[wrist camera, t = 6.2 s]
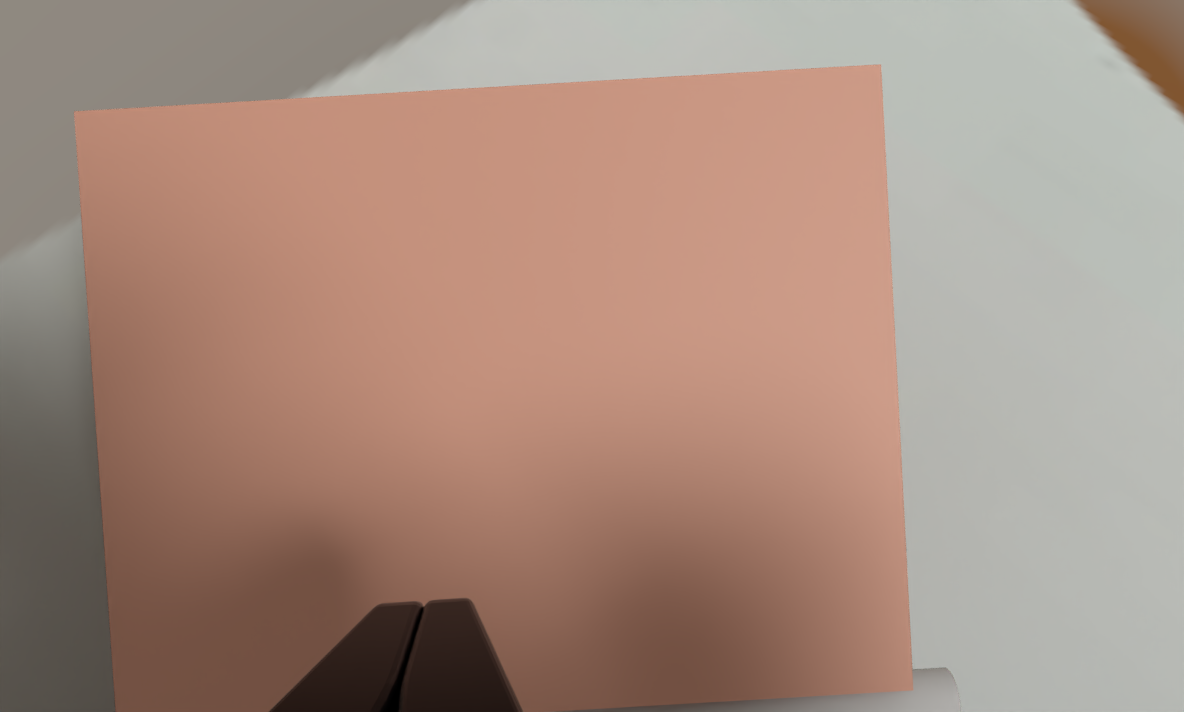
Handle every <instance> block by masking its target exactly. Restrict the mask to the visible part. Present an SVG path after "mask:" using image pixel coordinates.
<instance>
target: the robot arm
mask: <svg viewBox="0 0 1184 712" xmlns="http://www.w3.org/2000/svg"><path fill="white" fill-rule="evenodd" d="M269 712H523V710H522V708H521V706H520V703H519V701H518V699H517V697H516V695H515V692H514V690H513V688H512V686H511V684H510V682H509V679H508V677H507V675H506V673H505V671H504V668H503V666H502V664H501V662H500V660H499V658H498V655H497V653H496V651H495V649H494V647H493V644H492V642H491V640H490V638H489V636H488V634H487V631H486V629H485V627H484V625H483V623H482V620H481V618H480V616H479V614H478V612H477V609H476V607H475V605H474V603H473V602H472V601H471V600H470V599H469V598H452V599H437V600H431V601H429V602H427V603H426V604H425V606H424V605H423V604H422V603H421V602H419V601H408V602H392V603H381V604H378V605H377V606H375V607H374V608H373V609H371V610H370V611H369V612H368V613H367V614H366V615H365V616H364V617H363V618H362V619H361V620H360V621H359V622H358V623H357V624H356V625H355V626H354V627H353V628H352V629H351V630H350V631H349V632H348V633H347V634H346V635H345V636H344V637H343V638H342V639H341V640H340V641H339V642H338V643H337V644H336V645H335V646H334V647H333V648H332V649H331V650H330V651H329V652H328V653H327V654H326V655H325V656H324V657H323V658H322V659H321V660H320V661H319V662H318V663H317V664H316V665H315V666H314V667H313V668H312V669H311V670H310V671H309V672H308V673H307V674H306V675H305V676H304V677H303V678H302V679H301V680H300V681H299V682H298V683H297V684H296V685H295V686H294V687H293V688H292V689H291V690H290V691H289V692H288V693H287V694H286V695H285V696H284V697H283V698H282V699H281V700H280V701H279V702H278V703H277V704H276V705H275V706H274V707H273V708H272V709H271V710H270V711H269Z"/></svg>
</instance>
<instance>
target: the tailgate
mask: <svg viewBox="0 0 1184 712" xmlns="http://www.w3.org/2000/svg"><path fill="white" fill-rule="evenodd" d="M74 117H75V132H76V144H77V145H76V146H77V160H78V174H79V189H80V204H81V218H82V233H83V247H84V262H85V276H86V291H87V305H88V320H89V334H90V349H91V363H92V378H93V392H94V407H95V421H96V436H97V450H98V465H99V479H100V494H101V508H102V522H103V537H104V551H105V566H106V580H107V595H108V609H109V624H110V638H111V653H112V667H113V682H114V696H115V711H116V712H269V711H270V710H271V709H272V708H273V707H274V706H275V705H276V704H277V703H278V702H279V701H280V700H281V699H282V698H283V697H284V696H285V695H286V694H287V693H288V692H289V691H290V690H291V689H292V688H293V687H294V686H295V685H296V684H297V683H298V682H299V681H300V680H301V679H302V678H303V677H304V676H305V675H306V674H307V673H308V672H309V671H310V670H311V669H312V668H313V667H314V666H315V665H316V664H317V663H318V662H319V661H320V660H321V659H322V658H323V657H324V656H325V655H326V654H327V653H328V652H329V651H330V650H331V649H332V648H333V647H334V646H335V645H336V644H337V643H338V642H339V641H340V640H341V639H342V638H343V637H344V636H345V635H346V634H347V633H348V632H349V631H350V630H351V629H352V628H353V627H354V626H355V625H356V624H357V623H358V622H359V621H360V620H361V619H362V618H363V617H364V616H365V615H366V614H367V613H368V612H369V611H370V610H371V609H373V608H374V607H375V606H377V605H378V604H381V603H392V602H408V601H419V602H421V603H422V604H423V605H424V606H425V604H426V603H427V602H429V601H431V600H437V599H452V598H469V599H470V600H471V601H472V602H473V603H474V605H475V607H476V609H477V612H478V614H479V616H480V618H481V620H482V623H483V625H484V627H485V629H486V631H487V634H488V636H489V638H490V640H491V642H492V644H493V647H494V649H495V651H496V653H497V655H498V658H499V660H500V662H501V664H502V666H503V668H504V671H505V673H506V675H507V677H508V679H509V682H510V684H511V686H512V688H513V690H514V692H515V695H516V697H517V699H518V701H519V703H520V706H521V708H522V710H523V712H961V703H960V697H959V692H958V688H957V685H956V682H955V680H954V677H953V675H952V674H951V672H950V671H949V670H948V669H947V668H931V669H913V670H912V654H911V635H910V615H909V596H908V577H907V558H906V538H905V519H904V500H903V480H902V461H901V442H900V422H899V403H898V384H897V365H896V345H895V326H894V307H893V287H892V268H891V249H890V229H889V210H888V191H887V171H886V152H885V133H884V114H883V94H882V75H881V64H880V65H863V66H846V67H829V68H811V69H794V70H777V71H760V72H743V73H726V74H708V75H691V76H674V77H657V78H640V79H622V80H605V81H588V82H571V83H554V84H537V85H519V86H502V87H485V88H468V89H451V90H433V91H416V92H399V93H382V94H365V95H348V96H330V97H313V98H296V99H279V100H263V101H246V102H227V103H210V104H193V105H176V106H159V107H141V108H124V109H107V110H90V111H75V112H74Z"/></svg>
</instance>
